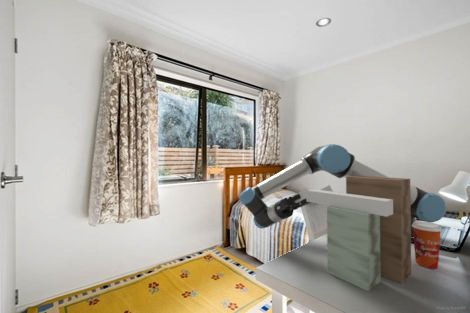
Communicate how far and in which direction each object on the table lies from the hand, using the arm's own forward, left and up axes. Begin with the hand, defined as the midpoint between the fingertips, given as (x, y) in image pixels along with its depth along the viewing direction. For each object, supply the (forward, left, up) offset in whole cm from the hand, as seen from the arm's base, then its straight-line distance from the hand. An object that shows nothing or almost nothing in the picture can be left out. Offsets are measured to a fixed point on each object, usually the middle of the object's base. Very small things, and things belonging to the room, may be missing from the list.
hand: (320, 190), depth 75 cm
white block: (0, +8, -4) cm, 9 cm away
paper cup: (-28, +22, -26) cm, 44 cm away
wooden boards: (-6, +13, -25) cm, 29 cm away
